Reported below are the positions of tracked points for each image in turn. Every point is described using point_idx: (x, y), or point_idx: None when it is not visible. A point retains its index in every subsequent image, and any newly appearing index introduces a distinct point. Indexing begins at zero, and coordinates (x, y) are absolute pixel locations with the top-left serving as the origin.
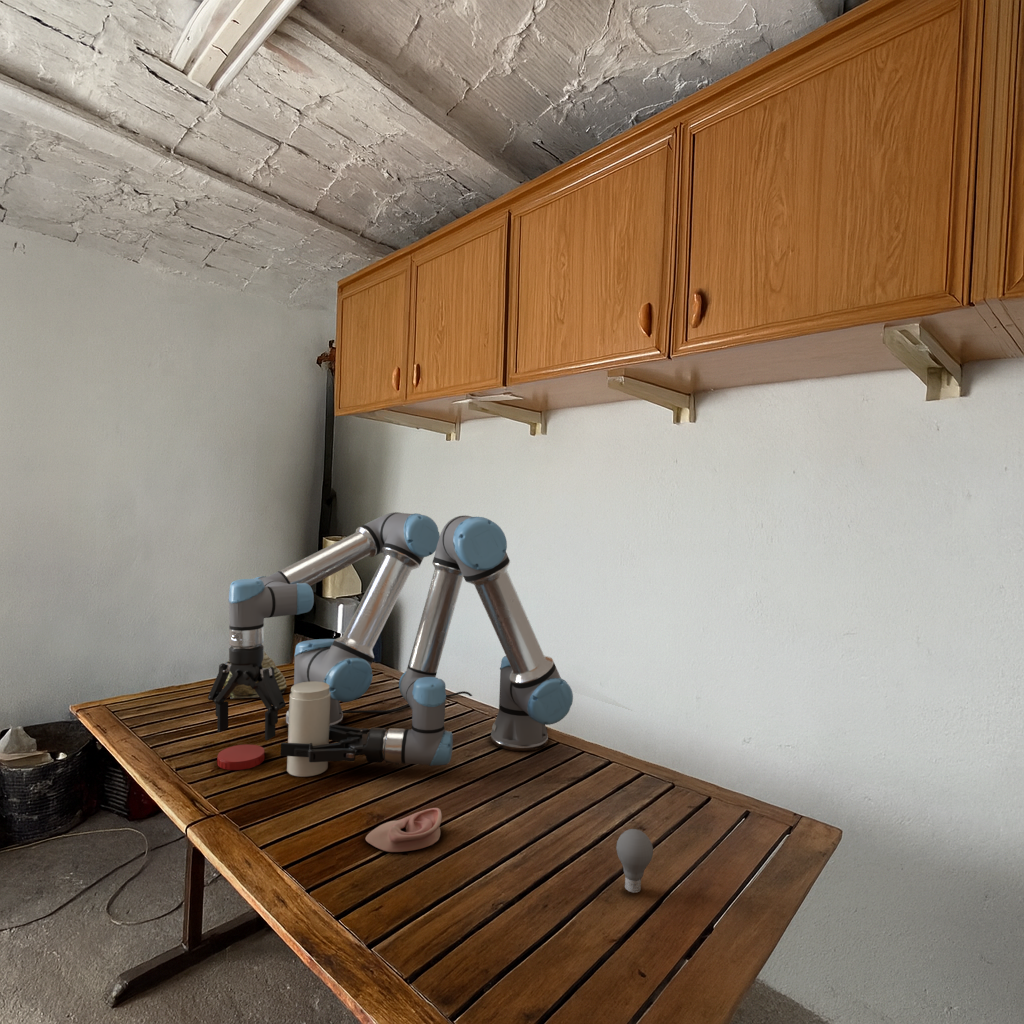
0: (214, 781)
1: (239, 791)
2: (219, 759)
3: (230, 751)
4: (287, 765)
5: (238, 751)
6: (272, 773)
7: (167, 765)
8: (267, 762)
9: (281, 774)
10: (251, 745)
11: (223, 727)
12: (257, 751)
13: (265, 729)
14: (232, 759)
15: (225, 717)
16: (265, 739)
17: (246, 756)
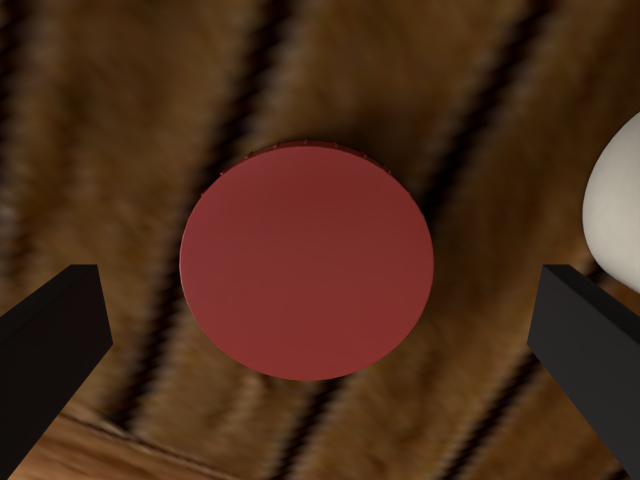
0: (350, 445)
1: (499, 468)
2: (258, 368)
3: (237, 283)
4: (625, 282)
5: (277, 266)
6: None
7: None
8: (445, 216)
9: None
10: (282, 163)
11: (95, 326)
12: (380, 225)
13: (573, 397)
14: (326, 356)
15: (43, 354)
16: (533, 346)
17: (367, 301)
